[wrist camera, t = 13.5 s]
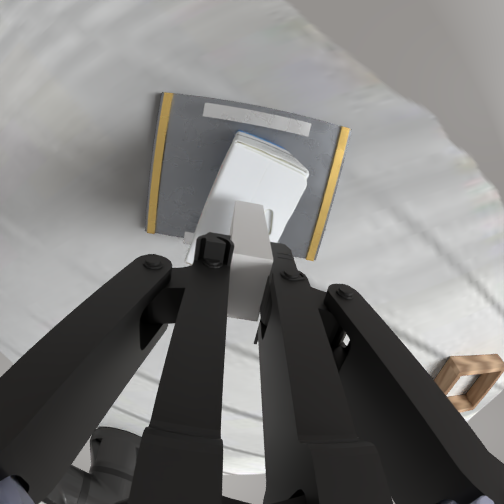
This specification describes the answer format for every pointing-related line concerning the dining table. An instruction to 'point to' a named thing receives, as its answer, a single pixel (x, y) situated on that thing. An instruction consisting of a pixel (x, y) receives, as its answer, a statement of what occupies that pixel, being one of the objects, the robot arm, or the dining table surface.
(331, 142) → the grey tray
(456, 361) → the stand
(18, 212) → the dining table surface
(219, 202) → the ink box
